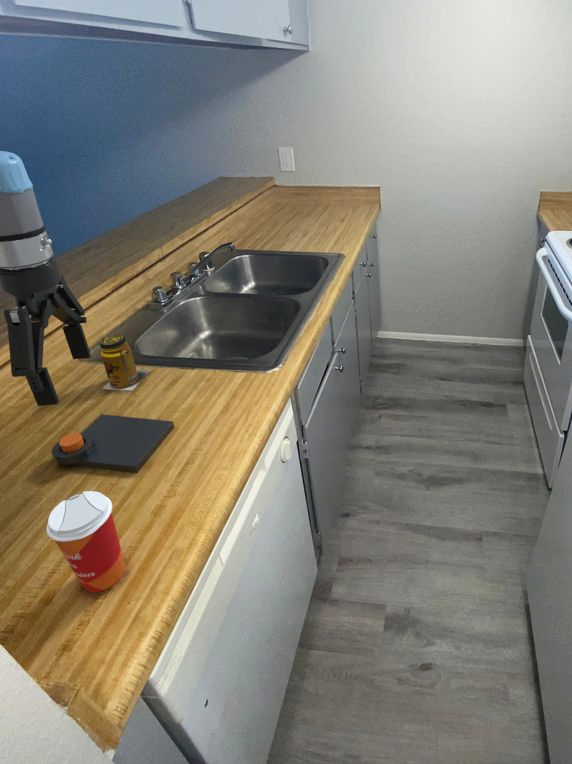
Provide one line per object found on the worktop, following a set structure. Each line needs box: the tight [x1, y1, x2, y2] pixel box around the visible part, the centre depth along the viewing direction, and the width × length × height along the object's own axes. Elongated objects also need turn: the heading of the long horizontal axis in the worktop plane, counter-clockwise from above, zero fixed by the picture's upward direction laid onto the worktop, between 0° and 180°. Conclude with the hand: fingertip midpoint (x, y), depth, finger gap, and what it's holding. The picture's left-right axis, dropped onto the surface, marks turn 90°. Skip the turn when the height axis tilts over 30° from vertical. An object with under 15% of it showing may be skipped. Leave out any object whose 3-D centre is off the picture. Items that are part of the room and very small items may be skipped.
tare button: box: [58, 432, 84, 453], centre depth 90 cm, size 4×4×2 cm
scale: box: [51, 413, 175, 474], centre depth 94 cm, size 17×14×4 cm
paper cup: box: [46, 490, 126, 594], centre depth 68 cm, size 8×8×14 cm
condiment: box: [99, 334, 152, 391], centre depth 112 cm, size 7×8×12 cm
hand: (66, 379), depth 80 cm, fingers open, 13 cm apart
